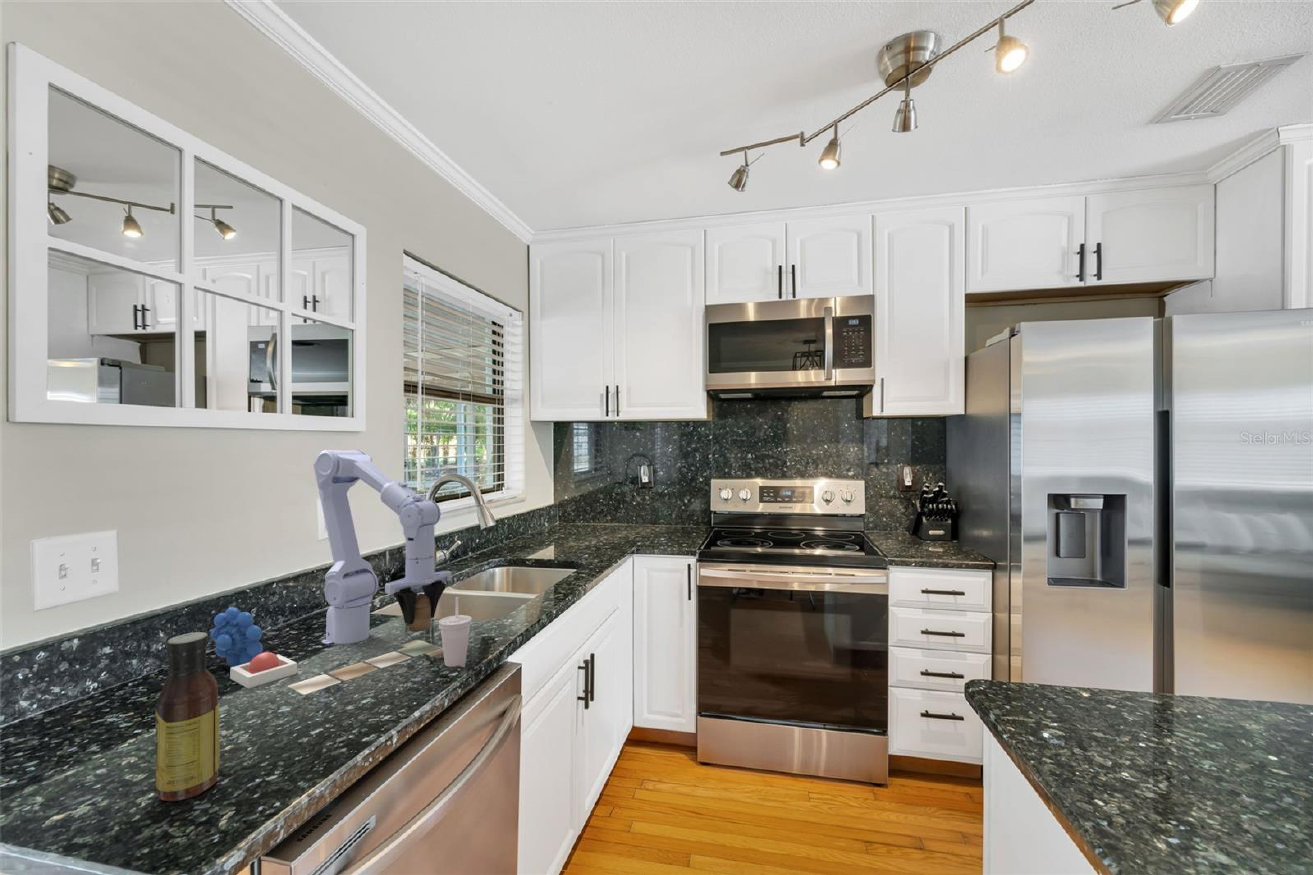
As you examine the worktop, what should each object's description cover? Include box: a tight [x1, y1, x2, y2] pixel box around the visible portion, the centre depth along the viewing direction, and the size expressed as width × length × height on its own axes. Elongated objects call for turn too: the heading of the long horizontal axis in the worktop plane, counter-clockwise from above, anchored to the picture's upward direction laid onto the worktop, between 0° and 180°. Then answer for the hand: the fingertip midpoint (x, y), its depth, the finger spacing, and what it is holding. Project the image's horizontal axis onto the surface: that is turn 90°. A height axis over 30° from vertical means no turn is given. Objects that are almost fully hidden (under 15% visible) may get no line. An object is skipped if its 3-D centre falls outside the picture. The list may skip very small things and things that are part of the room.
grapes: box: [210, 606, 264, 668], centre depth 109 cm, size 12×7×12 cm, turn 79°
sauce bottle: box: [155, 631, 220, 802], centre depth 71 cm, size 7×6×20 cm
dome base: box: [229, 653, 298, 690], centre depth 104 cm, size 8×8×3 cm
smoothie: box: [438, 596, 473, 668], centre depth 110 cm, size 6×6×14 cm
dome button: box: [248, 651, 280, 674], centre depth 104 cm, size 5×5×5 cm
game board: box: [286, 639, 444, 696], centre depth 109 cm, size 12×28×1 cm, turn 147°
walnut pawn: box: [408, 593, 432, 633], centre depth 118 cm, size 4×4×7 cm
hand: (419, 620), depth 118 cm, fingers closed on walnut pawn, 4 cm apart
